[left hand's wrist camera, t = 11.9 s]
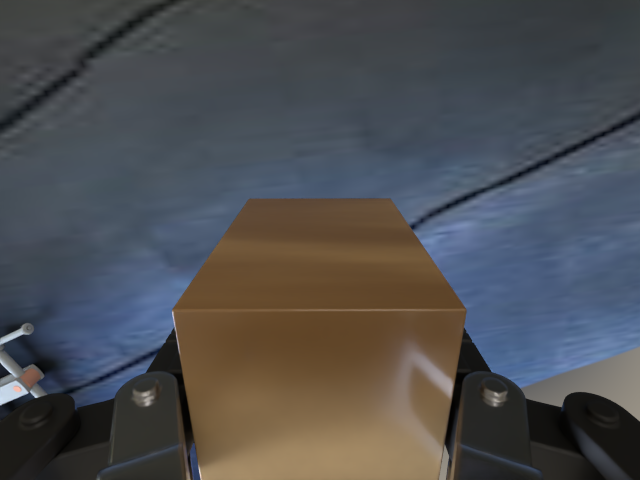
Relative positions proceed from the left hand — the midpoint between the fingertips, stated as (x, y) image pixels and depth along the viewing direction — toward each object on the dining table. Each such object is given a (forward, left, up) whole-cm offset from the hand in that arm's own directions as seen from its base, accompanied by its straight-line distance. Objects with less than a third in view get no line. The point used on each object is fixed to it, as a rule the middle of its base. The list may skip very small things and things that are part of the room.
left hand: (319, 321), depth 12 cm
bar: (+6, -8, -4) cm, 11 cm away
